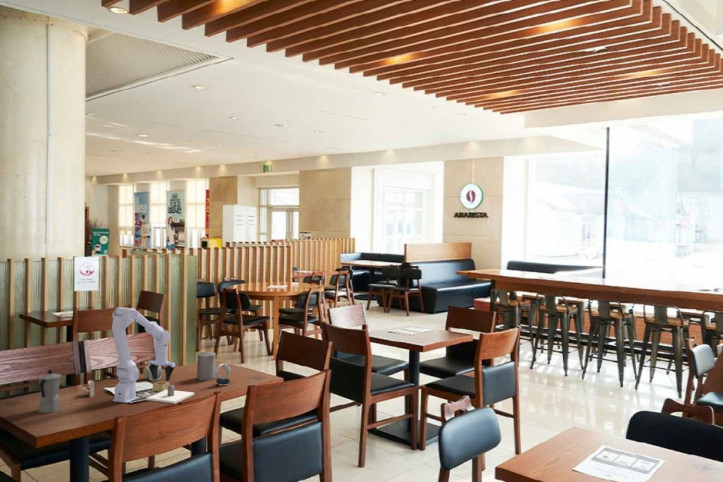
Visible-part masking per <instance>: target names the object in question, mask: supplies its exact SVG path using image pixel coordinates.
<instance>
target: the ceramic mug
mask: <svg viewBox="0 0 723 482" xmlns="http://www.w3.org/2000/svg"><path fill="white" fill-rule="evenodd" d="M149 366H150V365H147V366H144V368H143V378H144V379H145V380H147V381H151V382H154V383H157V382H160V380H161V378H162V376H163V370H162V366H158V371H157V379H155V380H153V377H152V373H151V371H150V369H149Z"/></svg>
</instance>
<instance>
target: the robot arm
mask: <svg viewBox="0 0 723 482" xmlns="http://www.w3.org/2000/svg"><path fill="white" fill-rule="evenodd" d="M111 316H112V325H111V330H112V331H111V332H112V335H113V340H114V344H115V349H116V353H117V357H118V364H117V365H116V376H117V378H118V380H119V382H118V383H117V384H116V385H115V386H114V398H113V399H112V401H113V402H117V403H123V404H124V403H130V402H132V401H135V400H137V399H139V398H140V396H136V391H137V390H136V389H137V388H136V387H137V384H136V383H137V380H138V379H139V376H140V370H139V369H138V367H137V364H136V363H135V362H134V360H133V359H132V355H131V350H130V346H129V342H128V337H127V333H126V329H127V327H129V326H130V325H131V324H132V323H133V322H134V321H135V322H136V323H138V324H139V325H140V326H142V327H144V330H145V332H146V333H148V334H149V335H150V336H152V337H153V340H155V360H148V361H147V362H148V363H147V364H148V365H147V366H149V369H150V371H151V373H152V377H153V380H155V379H157V371H158V366H161V367H164V368H163V369H164V374H165V382H169V381H171V377H172V373H173V371H174V369H175V367H176V363H175V362H172V361H169V360H168V358H169V357H168V356H169V354H168V353H169V352H168V350H169V349H168V348H169V342H170V339H171V334H170V332H169V331H168V330H167V329H164V327H163V326H160V325H159V324H158V322H157V321H152V320H151V321H149V320H148V319H147V318H146V317H144V316H143V315H142V314H141V313H140V312H139V310H136V309H135V308H134V307H133V308H131V307H123V306H118V307H116V308H115V310H114V311H113V312H112V315H111Z"/></svg>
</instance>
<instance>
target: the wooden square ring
mask: <svg viewBox="0 0 723 482" xmlns="http://www.w3.org/2000/svg"><path fill="white" fill-rule="evenodd" d="M170 383H171V382H169V381H160V380H159V381H156V382H154V383H152V392H156V391H158V393H159V392H162V391H164V390H168V386H169V385H171V384H170Z"/></svg>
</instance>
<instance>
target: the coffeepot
mask: <svg viewBox="0 0 723 482" xmlns="http://www.w3.org/2000/svg"><path fill="white" fill-rule="evenodd" d="M47 371H48V373H47V374H43V375H40V376H38V382H39V387H40V388H39V390H40V393H41V394H40V395H41V396H40V400H39V406H38V413H40V414H51V413H56V412H59V411H60V410H61V403H60V402H61V401H60V398H59V397H60V396H59V390H60V385H61V379H62V374H58V373H52V372H53V370H52V369H48V370H47Z"/></svg>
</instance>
